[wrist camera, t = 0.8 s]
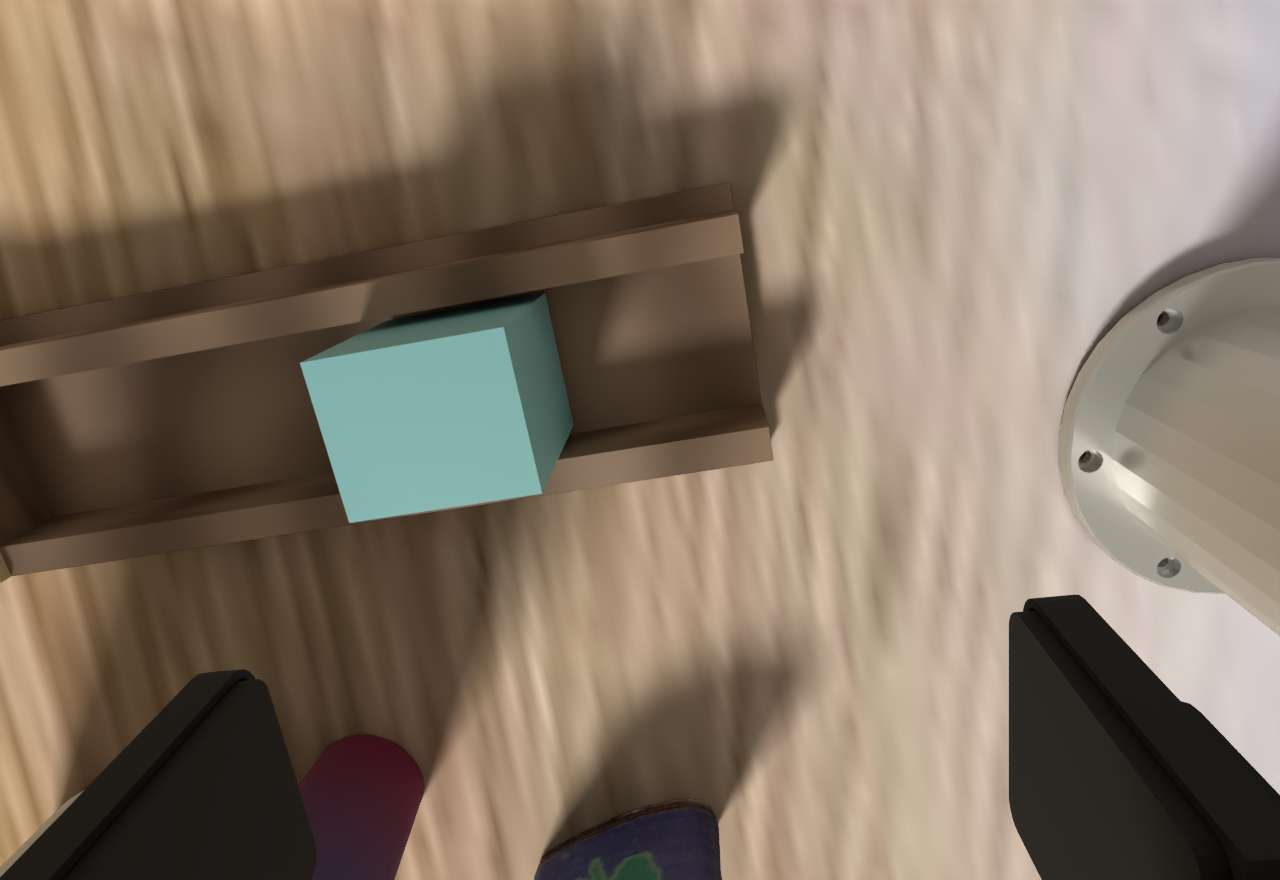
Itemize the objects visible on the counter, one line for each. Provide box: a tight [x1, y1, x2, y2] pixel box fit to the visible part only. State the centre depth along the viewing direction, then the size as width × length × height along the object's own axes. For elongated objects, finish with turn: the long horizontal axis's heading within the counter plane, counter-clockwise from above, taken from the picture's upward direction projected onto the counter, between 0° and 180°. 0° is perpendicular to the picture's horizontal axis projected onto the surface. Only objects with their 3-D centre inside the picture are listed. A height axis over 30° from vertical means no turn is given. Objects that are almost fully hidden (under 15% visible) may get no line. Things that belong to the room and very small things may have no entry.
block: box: [300, 293, 574, 523], centre depth 27 cm, size 6×5×7 cm
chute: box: [0, 183, 773, 583], centre depth 30 cm, size 30×10×4 cm, turn 100°
